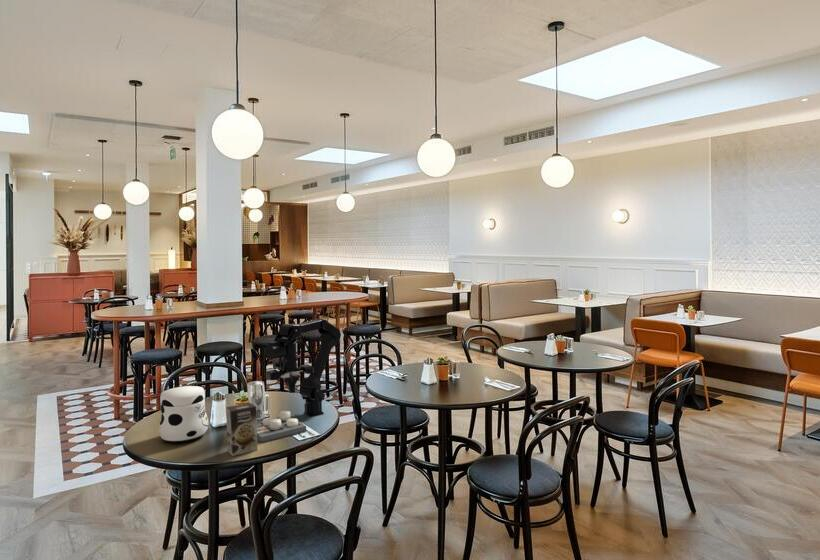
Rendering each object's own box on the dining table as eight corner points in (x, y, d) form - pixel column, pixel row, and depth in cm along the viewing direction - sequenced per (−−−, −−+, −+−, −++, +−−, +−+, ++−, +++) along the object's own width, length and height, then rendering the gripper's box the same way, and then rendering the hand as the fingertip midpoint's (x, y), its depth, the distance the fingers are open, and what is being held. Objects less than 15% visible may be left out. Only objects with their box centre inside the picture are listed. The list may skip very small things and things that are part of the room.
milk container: (218, 434, 200) (216, 389, 198) (176, 449, 186) (174, 401, 184) (192, 426, 210) (189, 382, 208) (150, 440, 195) (147, 393, 194)
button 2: (278, 425, 202) (278, 417, 202) (283, 428, 199) (282, 420, 198) (267, 427, 199) (267, 420, 199) (272, 431, 196) (271, 423, 196)
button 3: (287, 416, 212) (287, 409, 212) (292, 419, 208) (292, 412, 208) (277, 419, 209) (277, 411, 209) (282, 422, 206) (281, 414, 205)
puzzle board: (288, 420, 215) (288, 413, 215) (306, 431, 202) (306, 424, 201) (245, 430, 204) (245, 423, 204) (261, 442, 191) (261, 435, 190)
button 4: (295, 424, 206) (295, 417, 206) (300, 427, 203) (299, 420, 203) (284, 427, 204) (284, 420, 204) (289, 430, 200) (289, 423, 200)
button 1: (271, 424, 208) (271, 416, 208) (276, 427, 204) (275, 419, 204) (261, 426, 205) (260, 419, 205) (265, 429, 202) (265, 422, 201)
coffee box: (232, 456, 179) (230, 411, 177) (226, 451, 184) (225, 406, 183) (258, 450, 184) (256, 406, 183) (252, 444, 189) (250, 401, 188)
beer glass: (268, 415, 222) (266, 380, 221) (261, 420, 215) (260, 385, 214) (252, 414, 223) (251, 380, 221) (245, 420, 216) (244, 385, 215)
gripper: (301, 348, 222) (303, 384, 223) (259, 355, 211) (261, 392, 212) (313, 353, 213) (314, 390, 214) (270, 359, 202) (271, 398, 203)
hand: (290, 392), depth 211 cm, fingers closed
